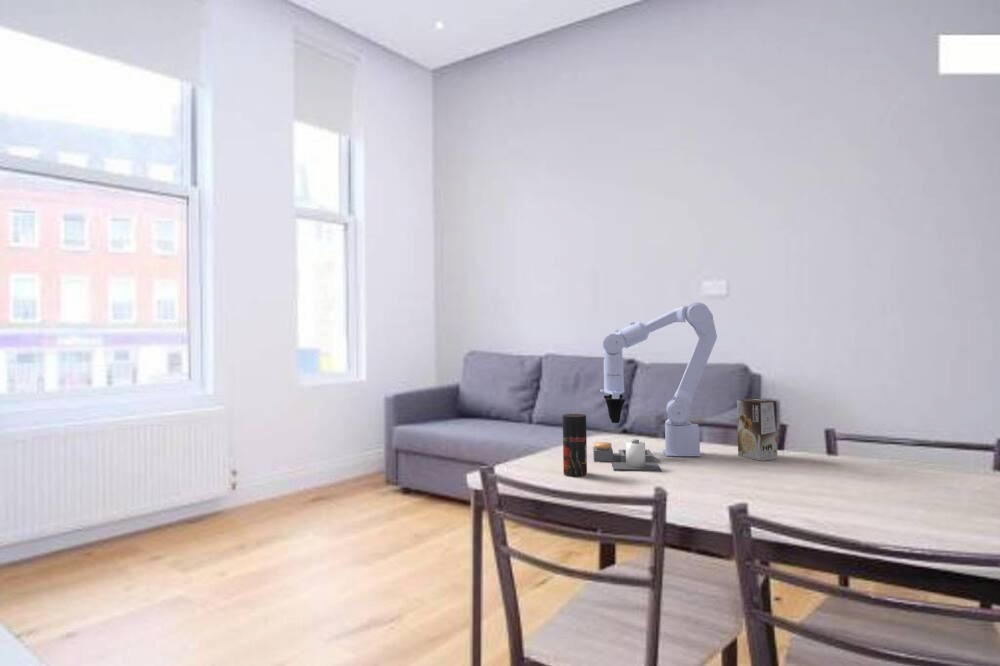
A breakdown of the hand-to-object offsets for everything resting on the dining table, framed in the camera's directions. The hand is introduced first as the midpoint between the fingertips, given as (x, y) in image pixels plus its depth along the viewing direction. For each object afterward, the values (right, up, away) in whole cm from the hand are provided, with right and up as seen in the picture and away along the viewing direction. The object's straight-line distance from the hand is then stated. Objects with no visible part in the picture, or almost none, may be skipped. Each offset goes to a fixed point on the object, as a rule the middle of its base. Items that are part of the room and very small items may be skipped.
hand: (614, 420), depth 195 cm
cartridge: (+2, -9, -20) cm, 22 cm away
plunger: (-5, -9, -9) cm, 14 cm away
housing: (0, -10, -10) cm, 14 cm away
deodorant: (-15, -10, -27) cm, 32 cm away
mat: (+2, -10, -20) cm, 22 cm away
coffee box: (+38, -9, -10) cm, 41 cm away
